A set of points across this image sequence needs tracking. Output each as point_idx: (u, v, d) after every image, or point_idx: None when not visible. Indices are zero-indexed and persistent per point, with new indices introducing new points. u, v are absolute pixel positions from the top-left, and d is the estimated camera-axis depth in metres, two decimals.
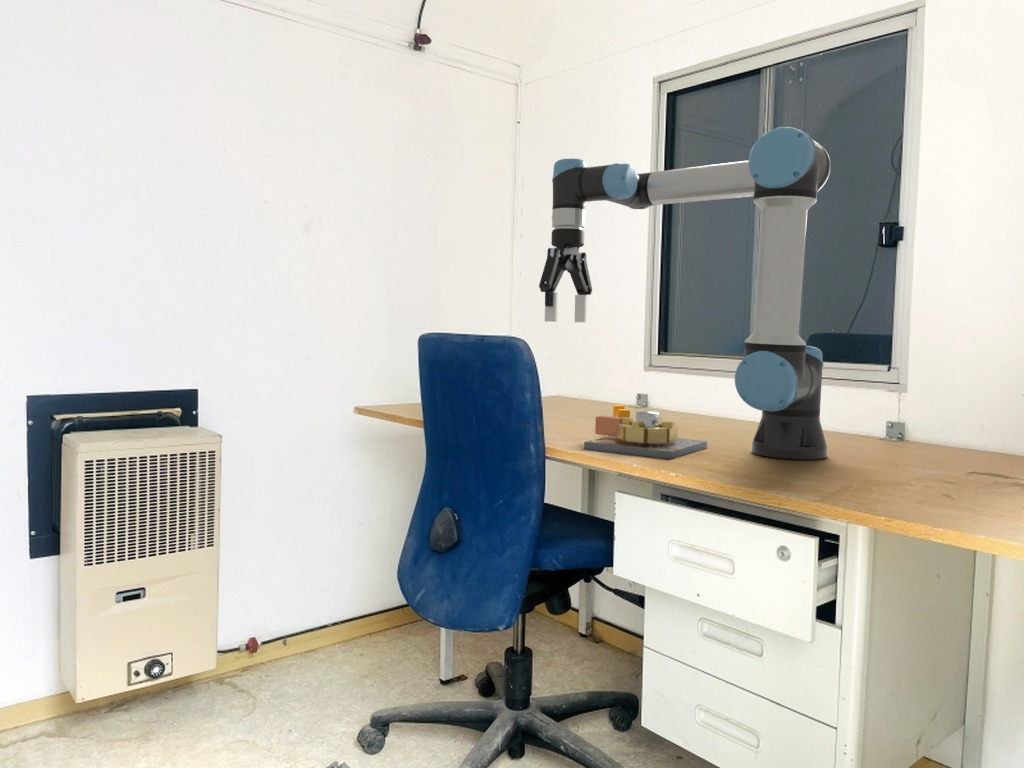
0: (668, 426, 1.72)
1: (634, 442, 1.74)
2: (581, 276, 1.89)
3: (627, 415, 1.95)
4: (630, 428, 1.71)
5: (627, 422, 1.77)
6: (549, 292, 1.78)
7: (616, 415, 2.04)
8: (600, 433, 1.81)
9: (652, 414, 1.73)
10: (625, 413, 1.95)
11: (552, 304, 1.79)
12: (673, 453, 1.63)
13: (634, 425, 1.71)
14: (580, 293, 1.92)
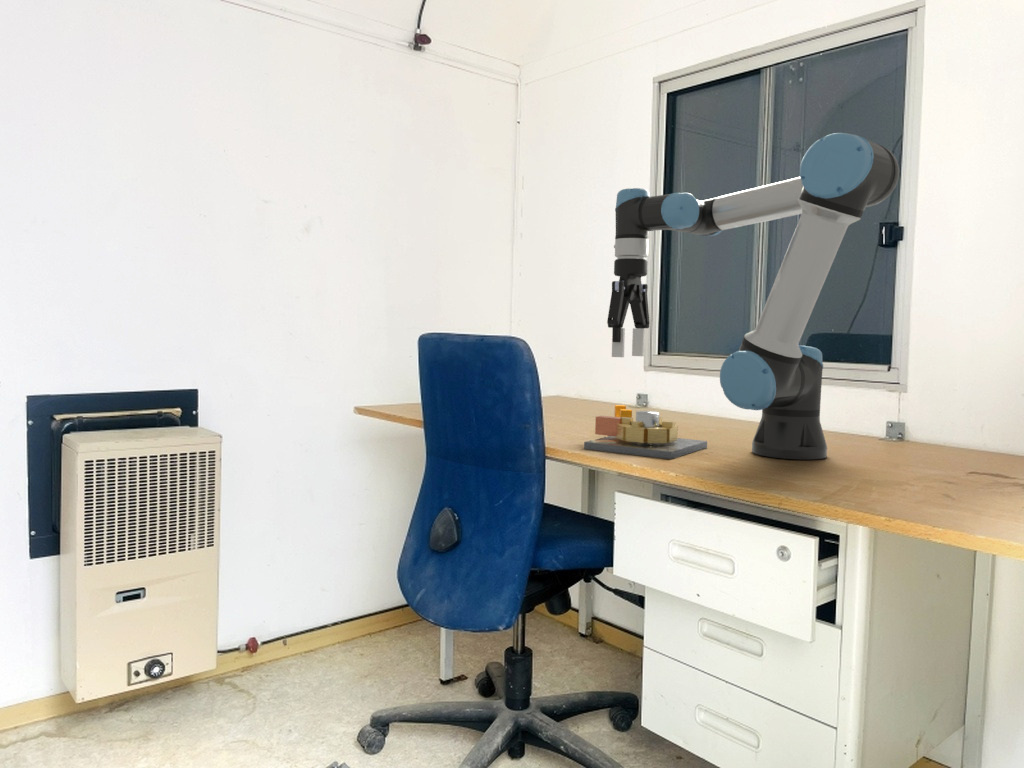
0: (668, 426, 1.72)
1: (634, 442, 1.74)
2: (641, 308, 1.87)
3: (629, 415, 1.95)
4: (630, 428, 1.71)
5: (627, 422, 1.77)
6: (617, 328, 1.79)
7: (618, 415, 2.04)
8: (600, 433, 1.81)
9: (652, 414, 1.73)
10: (627, 413, 1.95)
11: (620, 340, 1.80)
12: (673, 453, 1.63)
13: (634, 425, 1.71)
14: (638, 326, 1.89)
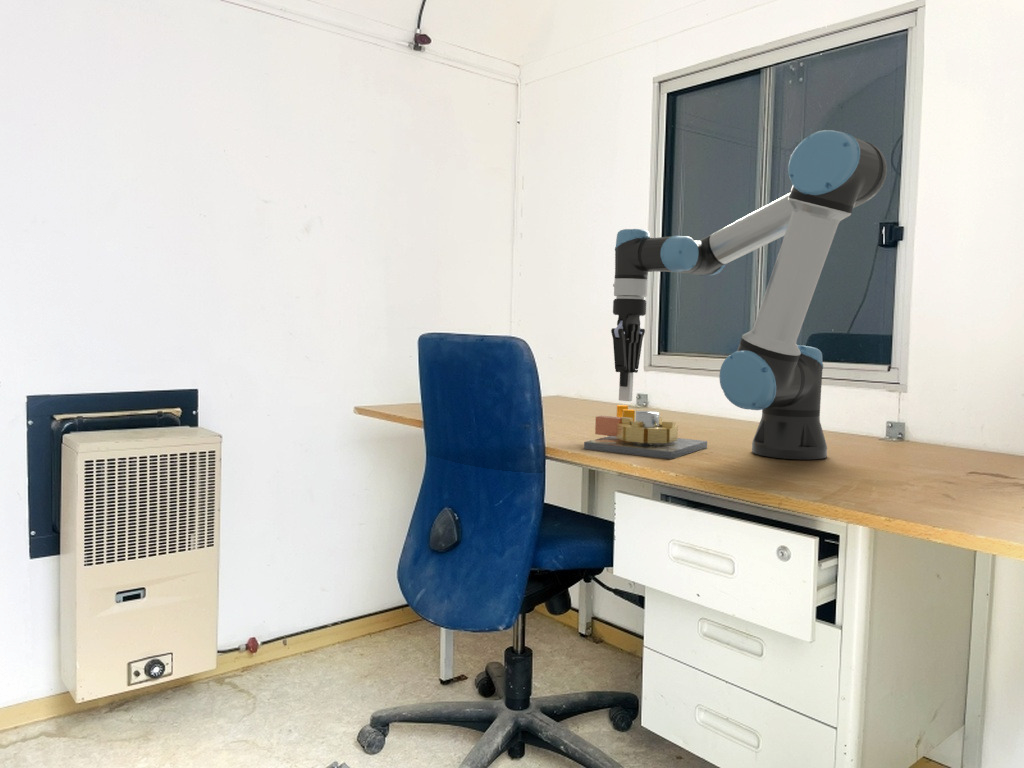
0: (668, 426, 1.72)
1: (634, 442, 1.74)
2: (634, 349, 1.86)
3: (632, 415, 1.95)
4: (630, 428, 1.71)
5: (627, 422, 1.77)
6: (624, 373, 1.84)
7: (620, 415, 2.04)
8: (600, 433, 1.81)
9: (652, 414, 1.73)
10: (629, 413, 1.95)
11: (627, 384, 1.85)
12: (673, 453, 1.63)
13: (634, 425, 1.71)
14: None
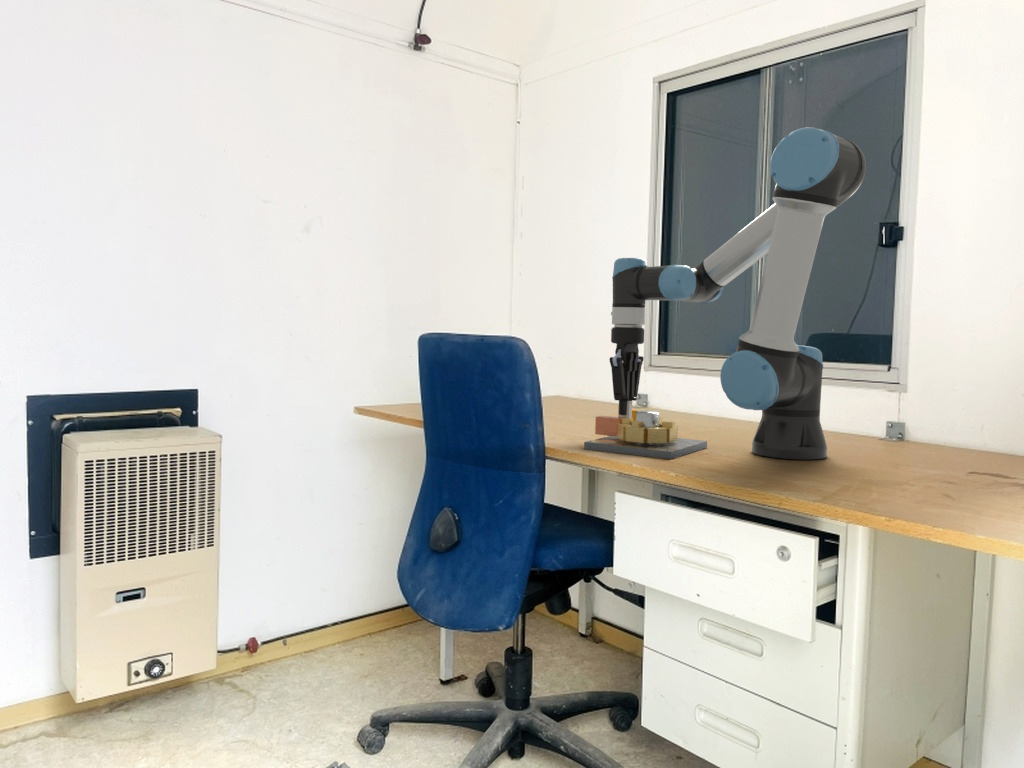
0: (668, 426, 1.72)
1: (634, 442, 1.74)
2: (633, 377, 1.85)
3: (634, 415, 1.95)
4: (630, 428, 1.71)
5: (627, 422, 1.77)
6: (623, 401, 1.84)
7: None
8: (600, 433, 1.81)
9: (652, 414, 1.73)
10: (632, 413, 1.95)
11: (626, 412, 1.85)
12: (673, 453, 1.63)
13: (634, 425, 1.71)
14: None
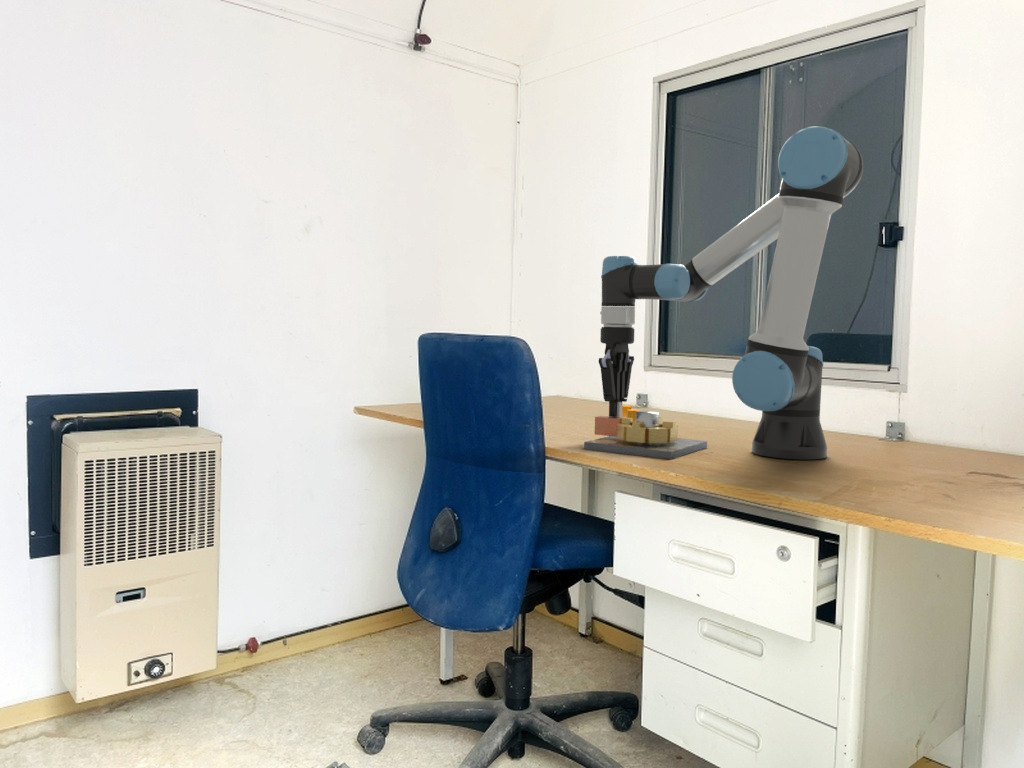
0: (668, 426, 1.72)
1: (634, 442, 1.74)
2: (623, 378, 1.81)
3: None
4: (631, 428, 1.71)
5: (627, 422, 1.77)
6: (613, 403, 1.80)
7: (623, 415, 2.04)
8: (599, 433, 1.80)
9: (652, 414, 1.73)
10: (634, 413, 1.95)
11: (616, 414, 1.81)
12: (673, 453, 1.63)
13: (635, 425, 1.70)
14: None
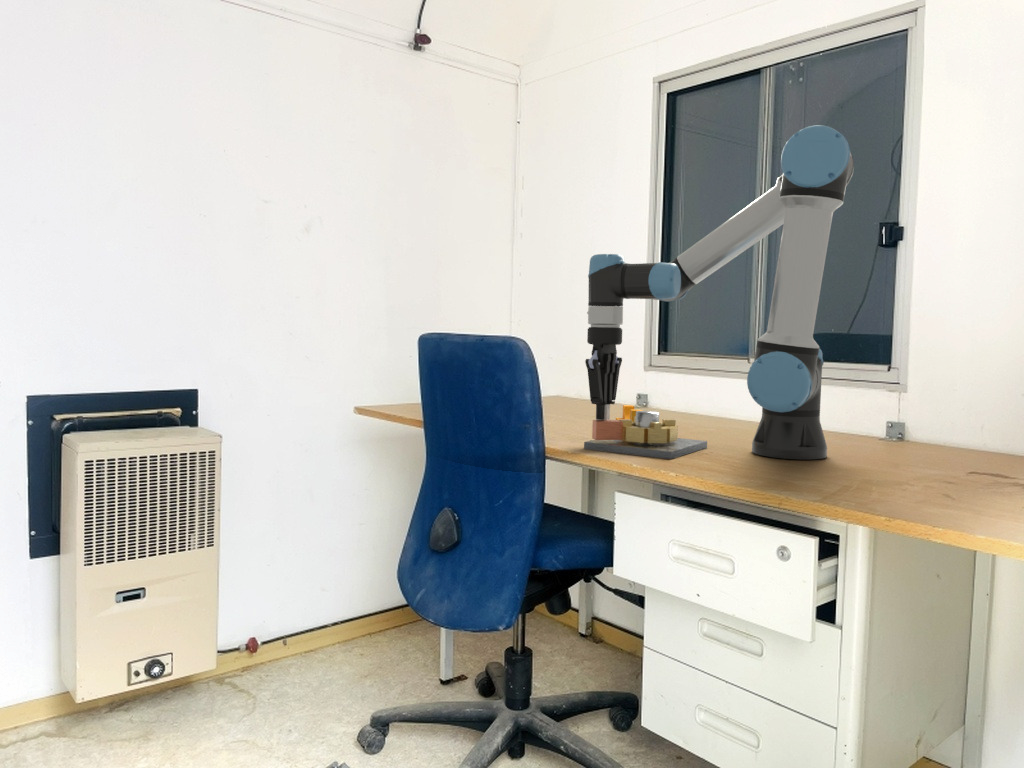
0: (671, 424, 1.76)
1: (634, 442, 1.74)
2: (611, 380, 1.76)
3: None
4: (653, 430, 1.69)
5: (629, 424, 1.74)
6: (601, 405, 1.75)
7: (626, 415, 2.04)
8: (602, 438, 1.72)
9: (652, 414, 1.73)
10: None
11: (603, 417, 1.75)
12: (673, 453, 1.63)
13: (658, 426, 1.70)
14: None
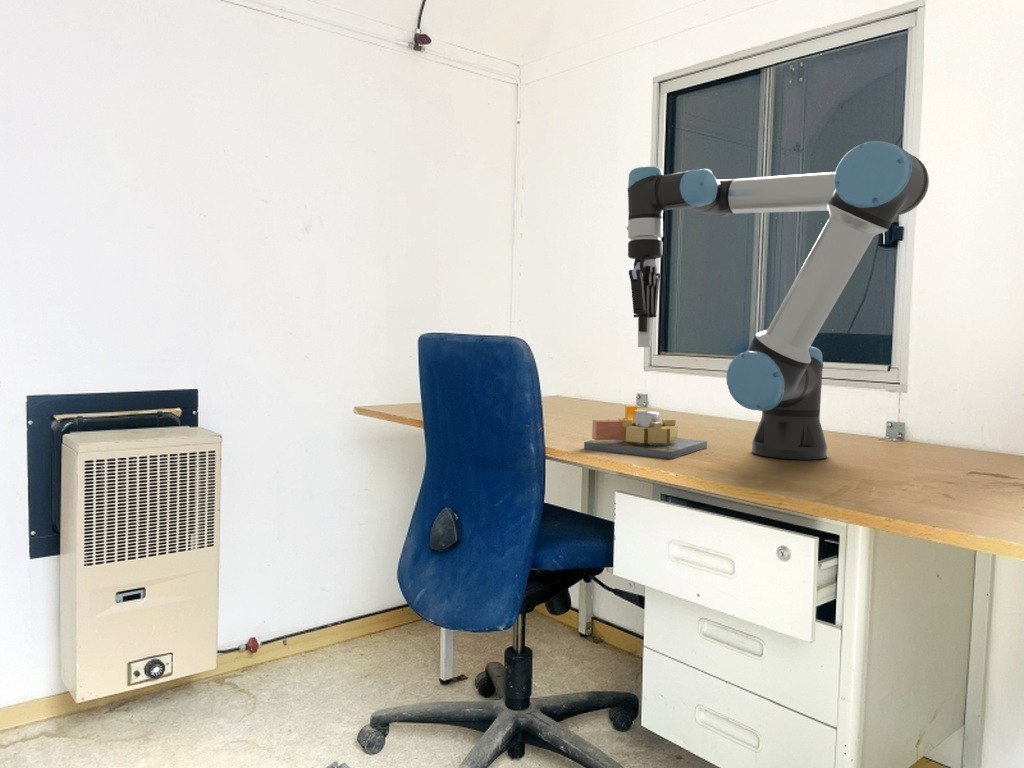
0: (671, 424, 1.76)
1: (634, 442, 1.74)
2: (652, 293, 1.78)
3: None
4: (653, 430, 1.69)
5: (629, 424, 1.74)
6: (643, 317, 1.76)
7: (629, 415, 2.04)
8: (602, 438, 1.72)
9: (652, 414, 1.73)
10: None
11: (646, 329, 1.77)
12: (673, 453, 1.63)
13: (658, 426, 1.70)
14: None
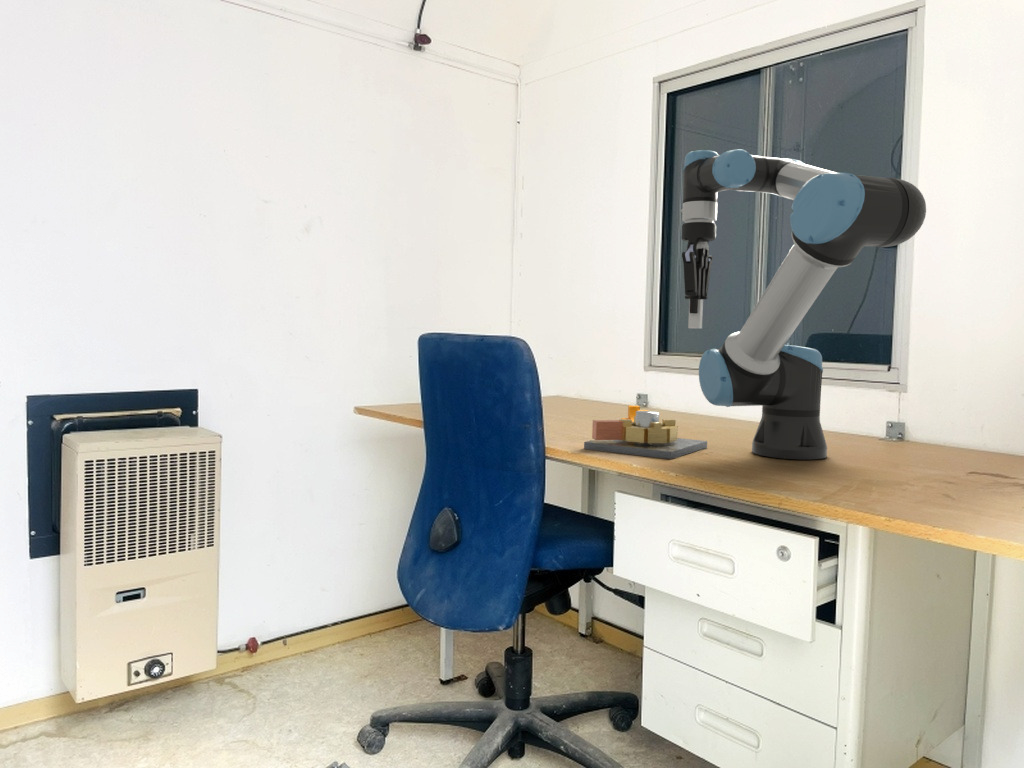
0: (671, 424, 1.76)
1: (634, 442, 1.74)
2: (704, 275, 1.82)
3: None
4: (653, 430, 1.69)
5: (629, 424, 1.74)
6: (694, 299, 1.80)
7: (632, 416, 2.04)
8: (602, 438, 1.72)
9: (652, 414, 1.73)
10: None
11: (697, 311, 1.81)
12: (673, 453, 1.63)
13: (658, 426, 1.70)
14: None
